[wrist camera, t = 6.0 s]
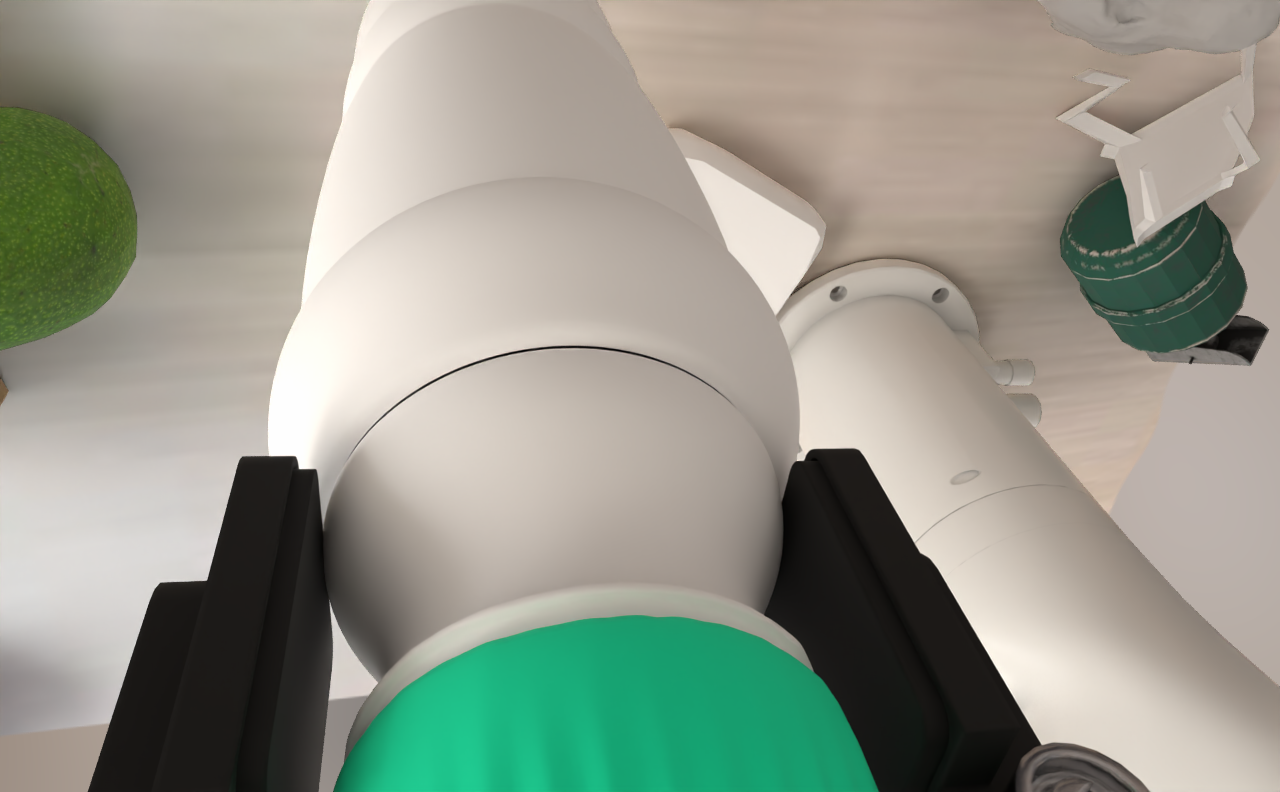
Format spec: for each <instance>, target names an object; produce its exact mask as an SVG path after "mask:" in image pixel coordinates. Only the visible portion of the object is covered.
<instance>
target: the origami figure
mask: <svg viewBox="0 0 1280 792" xmlns="http://www.w3.org/2000/svg"><path fill="white" fill-rule="evenodd" d="M1256 45H1257V43H1255V44H1253V45H1251V46H1249V47H1247V48H1245V49H1242V50H1241V74H1239V75H1237V76H1236V77H1234V78H1232V79H1230V80H1228V81H1226V82H1225V83H1223V84H1221V85H1219V86H1217V87H1216V88H1214V89H1212V90H1210V91H1208V92H1207V93H1205V94H1203V95H1201V96H1199V97H1198V98H1196V99H1194V100H1192V101H1190V102H1189V103H1187V104H1185V105H1183V106H1181V107H1180V108H1178V109H1176V110H1174V111H1172V112H1171V113H1169V114H1167V115H1165V116H1163V117H1162V118H1160V119H1158V120H1156V121H1154V122H1153V123H1151V124H1149V125H1147V126H1145V127H1144V128H1142V129H1140V130H1138V131H1136V132H1135V133H1133V134H1129V133H1127V132H1125V131H1123V130H1121V129H1119V128H1117V127H1115V126H1113V125H1111V124H1109V123H1107V122H1105V121H1103V120H1101V119H1099V118H1097V117H1095V116H1093V115H1091V114H1089V113H1087V112H1086V111H1087V110H1089V109H1090V108H1091V107H1093V106H1094V105H1096V104H1097V103H1099V102H1100V101H1102V100H1103V99H1105V98H1106V97H1107V96H1109V95H1110V94H1112V93H1113V92H1115V91H1116V90H1118V89H1119V88H1121V87H1122V86H1123V85H1125V84H1126V83H1128V82H1129V81H1131V80H1130V79H1129V78H1127V77H1124V76H1120V75H1116V74H1111V73H1107V72H1103V71H1099V70H1094V69H1090V68H1089V69H1087V70H1085V71H1083V72H1081V73H1079V74H1078V75H1076V76H1074V77H1072V78H1074V79H1076V80H1078V81H1082V82H1088V83H1093V84H1098V85H1103V86H1109V87H1108V88H1106V89H1105V90H1103V91H1101V92H1100V93H1098V94H1096V95H1094V96H1093V97H1091V98H1089V99H1087V100H1086V101H1084V102H1082V103H1081V104H1079V105H1077V106H1075V107H1074V108H1072V109H1070V110H1068V111H1067V112H1065V113H1063V114H1062V115H1060V116H1058V117H1056V119H1057V120H1059V121H1061V122H1063V123H1065V124H1067V125H1069V126H1071V127H1073V128H1075V129H1076V130H1078V131H1080V132H1082V133H1084V134H1086V135H1088V136H1090V137H1092V138H1094V139H1096V140H1098V141H1100V142H1102V143H1104V144H1105V145H1104V147H1103V150H1102V152H1101V155H1100V156H1101V157H1106V158H1111V159H1115V162H1116V166H1117V169H1118V172H1119V175H1120V178H1121V181H1122V184H1123V187H1124V190H1125V193H1126V196H1127V202H1128V209H1129V216H1130V222H1131V227H1132V232H1133V237H1134V241H1135V243H1136V246H1137V247H1138V246H1139V245H1140V243H1141V242H1142V241H1143V240H1144V239H1145V238H1146V237H1148V236H1149V235H1151V234H1153V233H1154V232H1156V231H1157V230H1159V229H1160V228H1162V227H1163V226H1165V225H1167V224H1168V223H1170V222H1171V221H1173V220H1174V219H1176V218H1178V217H1179V216H1181V215H1182V214H1184V213H1185V212H1187V211H1189V210H1190V209H1192V208H1193V207H1195V206H1196V205H1198V204H1199V203H1201V202H1203V201H1204V200H1206V199H1207V198H1209V197H1210V196H1212V195H1214V194H1215V193H1217V192H1218V191H1221V190H1223V189H1226V188H1228V187H1231V186H1232V184H1233V181H1234V177H1235V175H1237V174H1238V173H1240V172H1242V171H1245V170H1247V169H1249V168H1250V167H1252V166H1253V165H1254V164H1256V163H1257V162H1258V161H1260V158H1259V157H1258V155H1257V153H1256V151H1255V149H1254V148H1253V146H1252V144H1251V142H1250V141H1249V139H1248V137H1247V135H1248V132H1249V129H1250V126H1251V124H1252V121H1253V118H1254V93H1253V66H1254V59H1255V52H1256ZM1239 154H1240V155H1241V157H1242V159H1243V161H1244V163H1242V164H1240V165H1239V166H1237V167H1235V168H1234V166H1235V164H1236V161H1237V159H1238V156H1239Z"/></svg>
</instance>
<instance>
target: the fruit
mask: <svg viewBox="0 0 1280 792" xmlns="http://www.w3.org/2000/svg"><path fill="white" fill-rule="evenodd" d="M136 243H137V215H136V211H135V207H134V203H133V199H132V195H131V191H130V189H129V187H128V185H127V183H126V181H125V179H124V177H123V175H122V173H121V171H120V169H119V167H118V165H117V164H116V163H115V162H114V161H113V160H112V159H111V158H110V157H109V156H108V155H107V154H106V153H105V152H104V151H103V150H102V149H101V148H100V147H99V146H98V145H97V144H96V143H95V142H94V141H93V140H92V139H91V138H90V137H88V136H87V135H85V134H84V133H82V132H81V131H79V130H78V129H76V128H74V127H73V126H71V125H70V124H68V123H67V122H64V121H62V120H59V119H57V118H55V117H52V116H50V115H47V114H43V113H39V112H36V111H31V110H27V109H22V108H13V107H0V350H4V349H7V348H11V347H14V346H18V345H21V344H25V343H28V342H32V341H35V340H38V339H42V338H45V337H47V336H50V335H52V334H54V333H56V332H59V331H61V330H63V329H66V328H68V327H70V326H72V325H73V324H75V323H77V322H79V321H81V320H83V319H85V318H87V317H88V316H90V315H92V314H94V313H95V312H96V311H97V310H98V309H99V308H100V307H101V306H102V305H104V304H105V303H106V302H107V301H108V300H109V299H110V298H111V297H112V295H113V294H114V293H115V291H116V290H117V288H118V287H119V285H120V284H121V282H122V281H123V280H124V278H125V277H126V275H127V273H128V271H129V269H130V267H131V265H132V263H133V261H134V259H135V257H136Z"/></svg>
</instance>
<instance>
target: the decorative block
mask: <svg viewBox="0 0 1280 792" xmlns="http://www.w3.org/2000/svg"><path fill="white" fill-rule="evenodd" d="M7 393H8V389H7V388H6V386H5V385H4V383H3V381H2V380H1V378H0V406H1V404H2V402H3V401H4V399H5V397H6V395H7Z"/></svg>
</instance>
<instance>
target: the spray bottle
mask: <svg viewBox="0 0 1280 792" xmlns="http://www.w3.org/2000/svg"><path fill="white" fill-rule="evenodd" d="M668 130H669V131H670V133H671V135H672V136H673V138H674V140H675V141H676V143H677V145H678V147H679V148H680V150H681V152H682V154H683V155H684V157H685V159H686V161H687V163H688V165H689V166H690V168H691V170H692V172H693V174H694V176H695V178H696V180H697V182H698V184H699V186H700V188H701V190H702V192H703V194H704V196H705V198H706V200H707V202H708V204H709V206H710V208H711V210H712V212H713V214H714V217H715V219H716V221H717V224H718V226H719V228H720V231H721V233H722V235H723V238H724V240H725V243H726V245H727V248H728V251H729V252H730V253H731V254H732V255H733V256H734V257H735V258H736V259H737V260H738V262H739V263H740V264H741V265H742V266H743V267H744V269H745V270H746V271H747V272H748V274H749V275H750V276H751V277H752V279H753V280H754V281H755V283H756V284H757V286H758V287H759V289H760V290H761V292H762V293H763V295H764V296H765V298H766V300H767V302H768V303H769V305H770V307H771V309H772V310H773V312H774V314H775V316H776V315H777V314H778V312H779V311H780V310H781V308H782V307H783V305H784V304H785V302H786V301H787V299H788V298H789V296H790V295H791V294H792V292H793V291H794V289H795V288H796V286H797V285H798V283H799V282H800V280H801V279H802V277H803V276H804V275H805V273H806V272H807V270H808V269H809V267H810V266H811V264H812V263H813V261H814V260H815V258H816V257H817V255H818V254H819V252H820V251H821V249H822V246H823V241H824V236H825V231H826V224H825V223H824V221H823V220H822V218H821V217H820V215H819V214H818V212H817V211H816V210H815V209H814V208H813V207H812V206H811V205H810V204H809V203H808V202H807V201H806V200H804V199H802V198H801V197H799V196H798V195H796V194H795V193H793V192H791V191H790V190H788V189H787V188H785V187H783V186H782V185H780V184H779V183H777V182H776V181H774V180H772V179H771V178H769V177H768V176H766V175H765V174H763V173H761V172H760V171H758V170H757V169H755V168H754V167H752V166H750V165H749V164H747V163H746V162H744V161H742V160H741V159H739V158H738V157H736V156H735V155H733V154H731V153H730V152H728V151H727V150H725V149H723V148H721V147H719V146H717V145H715V144H713V143H711V142H709V141H707V140H704V139H702V138H700V137H698V136H696V135H694V134H692V133H690V132H688V131H686V130H684V129H680V128H668Z"/></svg>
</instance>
